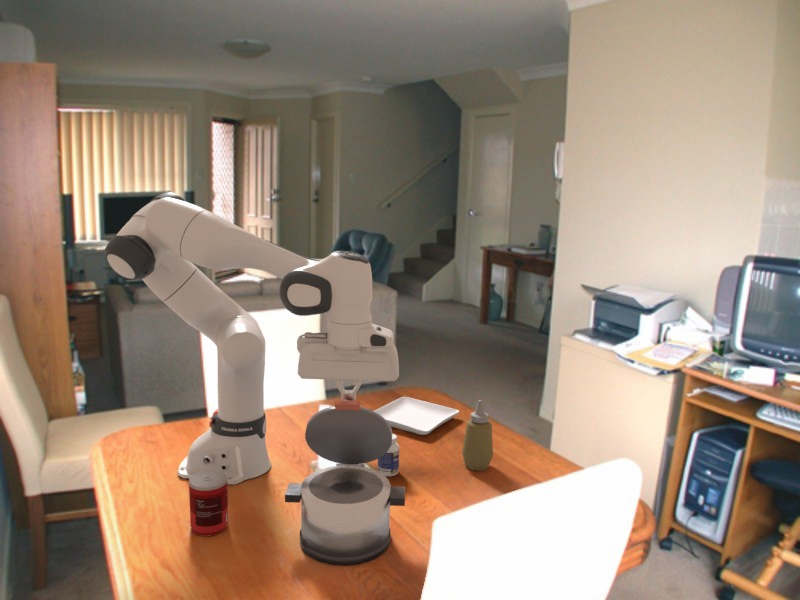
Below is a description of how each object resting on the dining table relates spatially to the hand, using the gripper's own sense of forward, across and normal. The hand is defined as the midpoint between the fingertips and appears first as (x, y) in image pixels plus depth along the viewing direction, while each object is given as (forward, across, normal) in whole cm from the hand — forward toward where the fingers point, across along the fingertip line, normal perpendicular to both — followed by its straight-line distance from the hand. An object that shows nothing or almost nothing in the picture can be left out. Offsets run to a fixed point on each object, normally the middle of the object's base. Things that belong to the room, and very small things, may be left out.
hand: (348, 399), depth 132 cm
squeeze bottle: (+30, +31, +33) cm, 54 cm away
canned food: (+29, -29, 0) cm, 41 cm away
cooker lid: (+8, 0, +1) cm, 8 cm away
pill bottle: (+29, +8, +28) cm, 41 cm away
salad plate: (+30, +15, +63) cm, 71 cm away
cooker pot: (+29, 0, -3) cm, 29 cm away
